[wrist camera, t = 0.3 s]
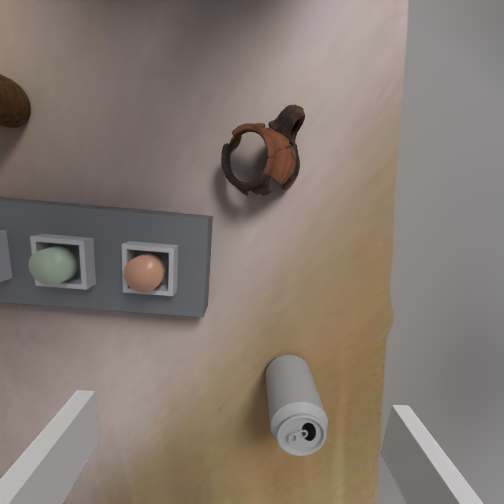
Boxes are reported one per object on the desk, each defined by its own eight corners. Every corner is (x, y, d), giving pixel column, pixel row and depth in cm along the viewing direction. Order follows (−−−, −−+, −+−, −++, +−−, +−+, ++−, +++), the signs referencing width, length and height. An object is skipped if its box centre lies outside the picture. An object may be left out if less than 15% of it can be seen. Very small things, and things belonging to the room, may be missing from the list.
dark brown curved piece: (282, 209, 37) (255, 211, 30) (237, 175, 39) (203, 169, 32) (333, 130, 31) (315, 110, 24) (277, 97, 34) (247, 70, 27)
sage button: (40, 244, 31) (26, 248, 29) (76, 247, 31) (65, 251, 29) (44, 278, 32) (30, 283, 30) (79, 281, 32) (68, 286, 30)
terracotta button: (130, 252, 31) (122, 256, 29) (166, 255, 31) (160, 259, 29) (131, 285, 32) (124, 291, 30) (165, 287, 32) (160, 293, 30)
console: (-46, 193, 35) (-106, 193, 29) (212, 216, 36) (205, 220, 30) (-30, 287, 38) (-80, 304, 32) (207, 305, 39) (200, 324, 33)
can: (311, 385, 43) (335, 456, 31) (269, 392, 43) (277, 466, 32) (305, 347, 41) (328, 408, 30) (261, 355, 42) (266, 419, 30)
